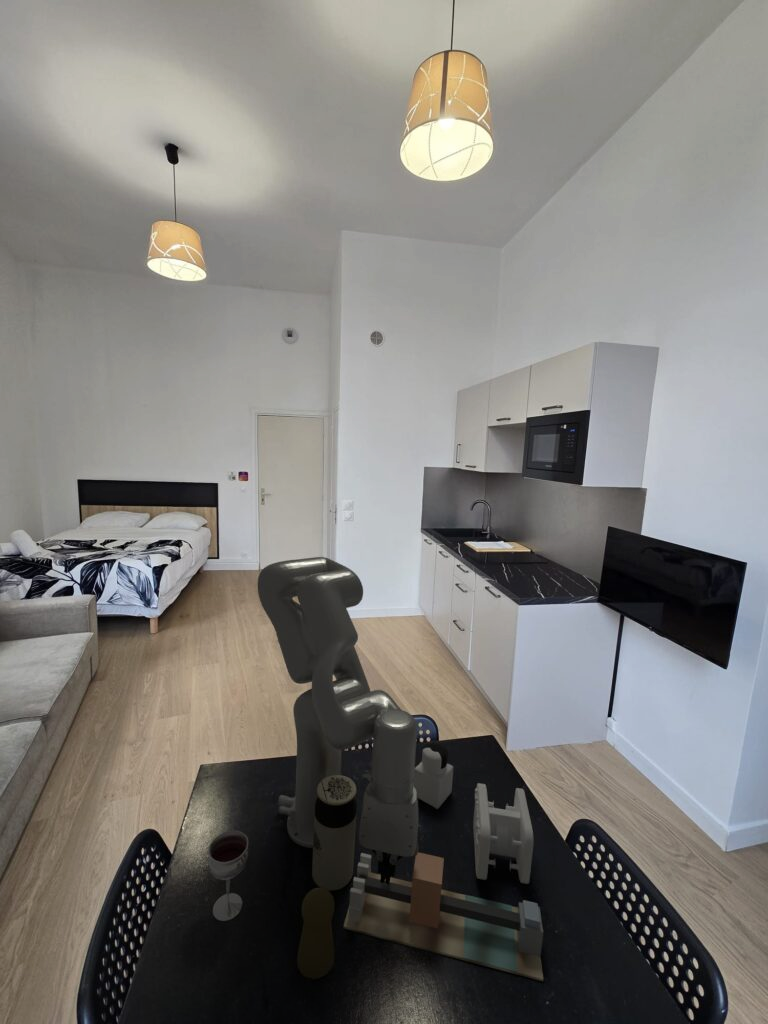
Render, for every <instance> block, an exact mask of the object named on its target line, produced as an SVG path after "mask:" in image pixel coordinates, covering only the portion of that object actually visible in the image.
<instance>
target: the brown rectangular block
mask: <svg viewBox="0 0 768 1024" xmlns="http://www.w3.org/2000/svg"><path fill="white" fill-rule="evenodd" d="M444 859H445V858H444V857H440V856H435V855H432V854H427V853H423V852H419V851H418V854H417V855H416V856H415V859H414V866H413V871H412V872H413V873H412V879H411V882H412V891H411V905H410V918H409V922H413V923H417V924H421V925H425V926H429V927H433V928H437V929H438V923H439V911H440V899H441V889H442V887H443V873H444V861H445V860H444Z"/></svg>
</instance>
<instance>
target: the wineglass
mask: <svg viewBox="0 0 768 1024" xmlns="http://www.w3.org/2000/svg"><path fill="white" fill-rule="evenodd" d="M248 847H249V838H248V836H247V835H246V834H245V833H243V832H242V831H239V830H228V831H224V832H222V833H220V834H218V835H217V836H215V838H213V839H212V841H211V842H210V844H209V847H208V858H207V867H208V870H209V872H210V874H211V875H212V876H213V877H214V878H215V879H217V880H220V881H225V887H226V888H225V891H226V893H225V894H223V895H221V896H220V897H219V898H217V900H216V901H215V903H214V904H213V907H212V914H213V917H214V918H215V919H216V920H218V921H221V922H222V921H223V922H225V921H230V920H232V919H234V918H235V917H236V916H237V915H238V914H239V913H240V912H241V910H242V906H243V900H242V897H241V896H240V895H239V894H238V893H234V892H231V893H230V891H231V889H230V888H231V880H232V879H233V878H235V877H236V876H238V875H240V873H241V872H243V870H244V869H245V867H246V865H247V863H248V859H249V855H250V854H249V848H248Z"/></svg>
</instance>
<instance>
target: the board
mask: <svg viewBox="0 0 768 1024" xmlns="http://www.w3.org/2000/svg"><path fill="white" fill-rule="evenodd" d="M370 877H371V878H375V879H379V880H380V879H381V874H380V873H374V872H371V876H370ZM390 882H392V883H396V884H400V885H404V886H408V887H412V881H407V880H403V879H399V878H396V877H395V878H394V877H392V876H391V878H390ZM441 895H445V896H450V897H454V898H458V899H462V900H466V901H470V902H474V903H479V904H483V905H487V906H491V907H495V908H499V909H503V910H508V911H512V912H516V913H518V906H512V905H510V904H506V903H502V902H497V901H494V900H489V899H485V898H481V897H476V896H472V895H468V894H462V893H457V892H453V891H449V890H446V889H442V888H441ZM410 905H411V904H409V903H405V902H401V901H397V900H393V899H389V898H385V897H381V896H377V895H373V894H369V893H367V894H366V898H365V902H364V906H363V910H362V914H361V918H360V922H356V921H352V920H349V919H348V916H349V907H348V909H347V913H346V917H345V919H344V923H343V929H345V930H348V931H353V932H356V933H361V934H362V935H363V934H364V935H367V936H371V937H375V938H379V939H382V940H387V941H389V942H395V943H397V944H400V945H401V944H402V945H405V946H409V947H413V948H416V949H420V950H424V951H428V952H432V953H435V954H439V955H443V956H446V957H450V958H453V959H458V960H462V961H465V962H469V963H473V964H477V965H481V966H483V967H487V968H492V969H495V970H499V971H503V972H506V973H509V974H514V975H518V976H522V977H525V978H527V979H528V978H530V979H533V980H536V981H541V982H544V973H543V966H542V958H541V957H539V956H535V955H531V954H527V953H523V952H519V950H518V938H517V930H514V929H510V928H506V927H502V926H498V925H494V924H490V923H486V922H482V921H478V920H474V919H470V918H466V917H462V916H458V915H453V914H449V913H445V912H441V911H439V923H438V929H437V928H433V927H429V926H425V925H421V924H417V923H413V922H409V918H410Z"/></svg>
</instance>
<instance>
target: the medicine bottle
mask: <svg viewBox="0 0 768 1024" xmlns="http://www.w3.org/2000/svg"><path fill="white" fill-rule="evenodd" d="M421 757H422V759H421V761H420V762H419V764H418V765H416V766H415V769H414V786H413V787H415V789H416V793H417V799H418V800H421V801H422V802H424V803H426V804H428V805H429V806H431V807H433V808H435V809H436V810H438V809H439V808H441V806H442V804H444V802H445V801H446V800H447V798H448V797H449V796H450V795H451V793H452V791H453V778H454V776H453V775H454V766H453V765H451V764H450V763H448V757H449V752H448V749H447V748H446V746H444V745H442V744H441V743H436V742H431V743H427V744H426V745H424V747H423V748H422V756H421Z"/></svg>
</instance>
